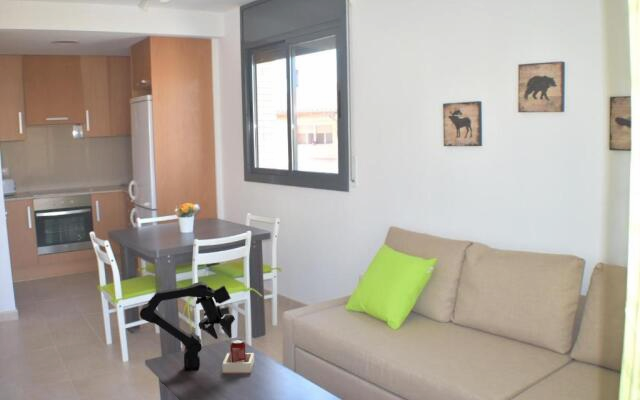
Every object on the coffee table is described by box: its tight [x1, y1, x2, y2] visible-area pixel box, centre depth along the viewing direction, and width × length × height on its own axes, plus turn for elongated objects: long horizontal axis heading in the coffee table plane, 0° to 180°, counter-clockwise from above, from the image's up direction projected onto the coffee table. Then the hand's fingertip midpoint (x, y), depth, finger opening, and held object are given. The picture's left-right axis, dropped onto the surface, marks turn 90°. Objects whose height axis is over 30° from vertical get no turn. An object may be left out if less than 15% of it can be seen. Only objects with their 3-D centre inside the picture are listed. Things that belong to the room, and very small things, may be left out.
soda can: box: [229, 338, 247, 362], centre depth 264 cm, size 7×7×12 cm
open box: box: [222, 352, 255, 374], centre depth 265 cm, size 12×12×4 cm
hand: (223, 338), depth 267 cm, fingers open, 9 cm apart
